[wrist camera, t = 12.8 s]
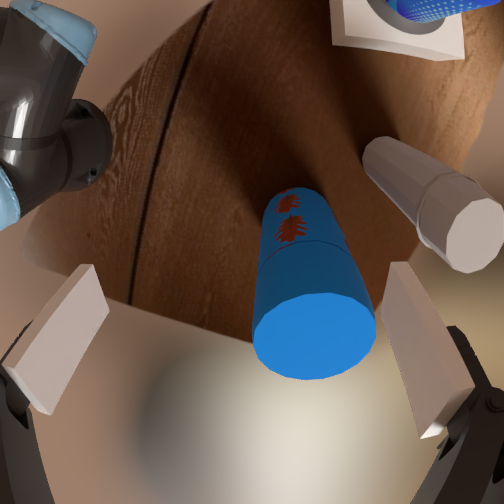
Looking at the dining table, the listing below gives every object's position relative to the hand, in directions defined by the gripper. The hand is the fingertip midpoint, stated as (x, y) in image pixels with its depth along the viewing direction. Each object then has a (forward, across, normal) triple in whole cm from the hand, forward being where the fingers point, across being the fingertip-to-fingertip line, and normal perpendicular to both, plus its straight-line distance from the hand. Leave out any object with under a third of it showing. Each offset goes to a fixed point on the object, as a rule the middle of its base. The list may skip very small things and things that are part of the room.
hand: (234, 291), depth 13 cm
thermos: (+33, +5, -11) cm, 35 cm away
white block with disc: (+33, +18, +22) cm, 43 cm away
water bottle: (+33, +18, -2) cm, 38 cm away
